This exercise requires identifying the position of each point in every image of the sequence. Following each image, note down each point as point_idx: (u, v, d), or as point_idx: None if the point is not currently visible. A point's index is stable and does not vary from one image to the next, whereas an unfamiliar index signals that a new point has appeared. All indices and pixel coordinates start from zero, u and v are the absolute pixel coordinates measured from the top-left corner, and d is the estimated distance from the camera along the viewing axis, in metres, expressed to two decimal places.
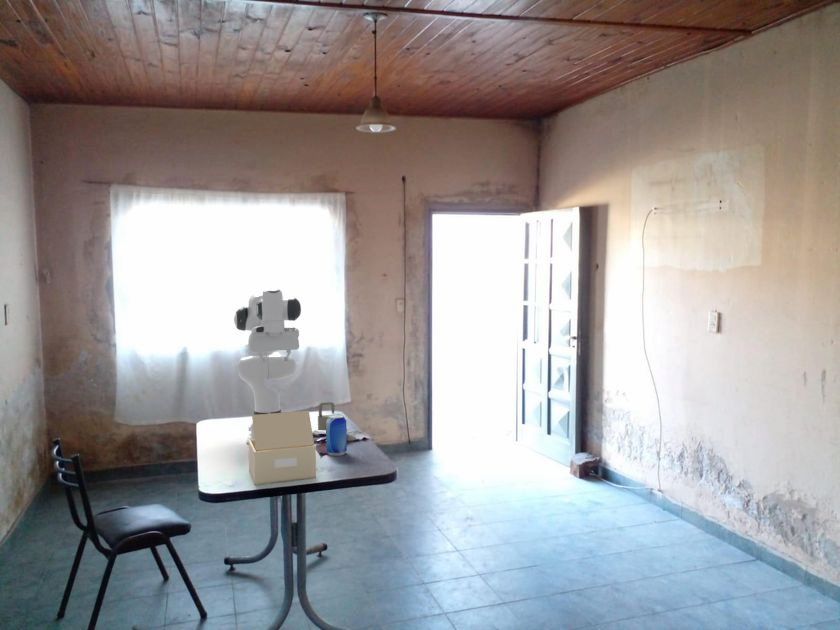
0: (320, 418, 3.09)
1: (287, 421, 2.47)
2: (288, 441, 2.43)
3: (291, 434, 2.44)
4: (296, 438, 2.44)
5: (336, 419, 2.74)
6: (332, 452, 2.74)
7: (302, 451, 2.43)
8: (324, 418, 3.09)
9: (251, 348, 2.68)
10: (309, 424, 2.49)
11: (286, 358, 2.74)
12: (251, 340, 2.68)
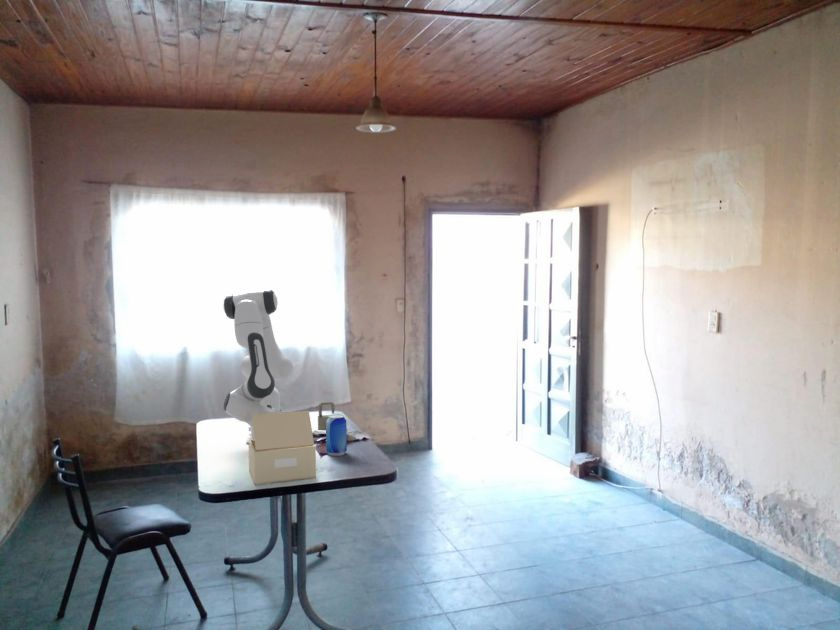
0: (320, 418, 3.09)
1: (287, 421, 2.47)
2: (288, 441, 2.43)
3: (291, 434, 2.44)
4: (296, 438, 2.44)
5: (336, 419, 2.74)
6: (332, 452, 2.74)
7: (302, 451, 2.43)
8: (324, 418, 3.09)
9: None
10: (309, 424, 2.49)
11: None
12: None
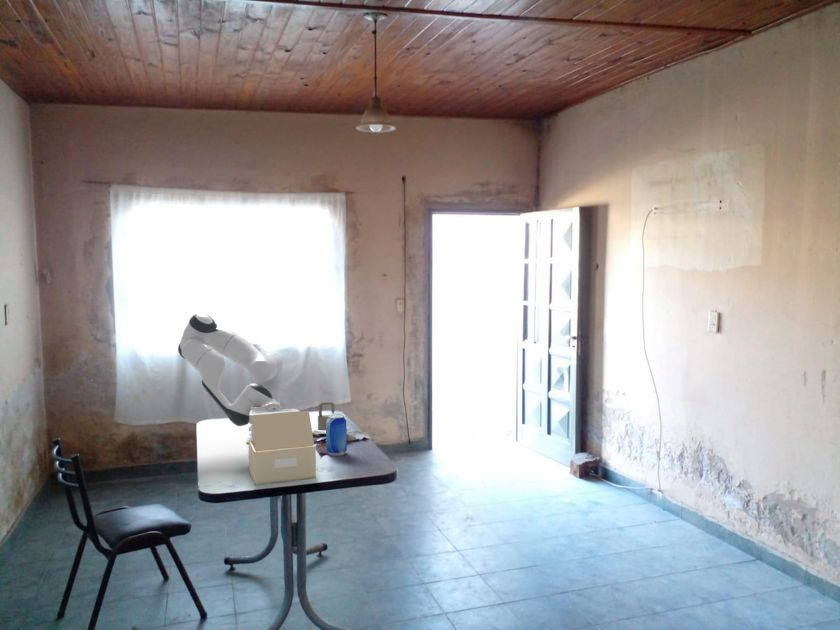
0: (320, 418, 3.09)
1: (287, 421, 2.47)
2: (288, 441, 2.43)
3: (291, 434, 2.44)
4: (296, 438, 2.44)
5: (336, 419, 2.74)
6: (332, 452, 2.74)
7: (302, 451, 2.43)
8: (324, 418, 3.09)
9: (251, 414, 2.58)
10: (309, 424, 2.49)
11: None
12: (250, 411, 2.61)
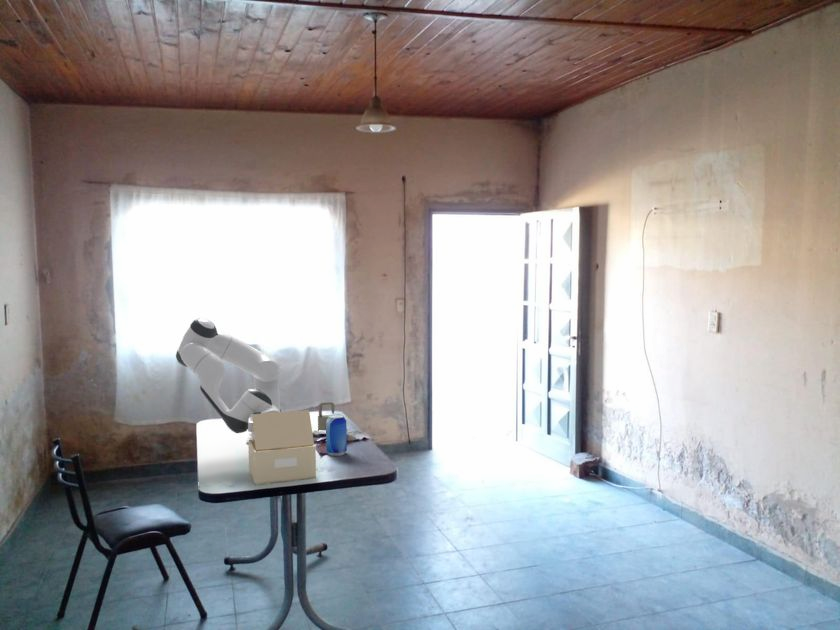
0: (320, 418, 3.09)
1: (287, 420, 2.47)
2: (288, 441, 2.42)
3: (291, 434, 2.44)
4: (296, 438, 2.44)
5: (336, 419, 2.74)
6: (332, 452, 2.74)
7: (302, 451, 2.43)
8: (324, 418, 3.09)
9: (250, 421, 2.47)
10: (309, 424, 2.49)
11: None
12: (249, 418, 2.50)
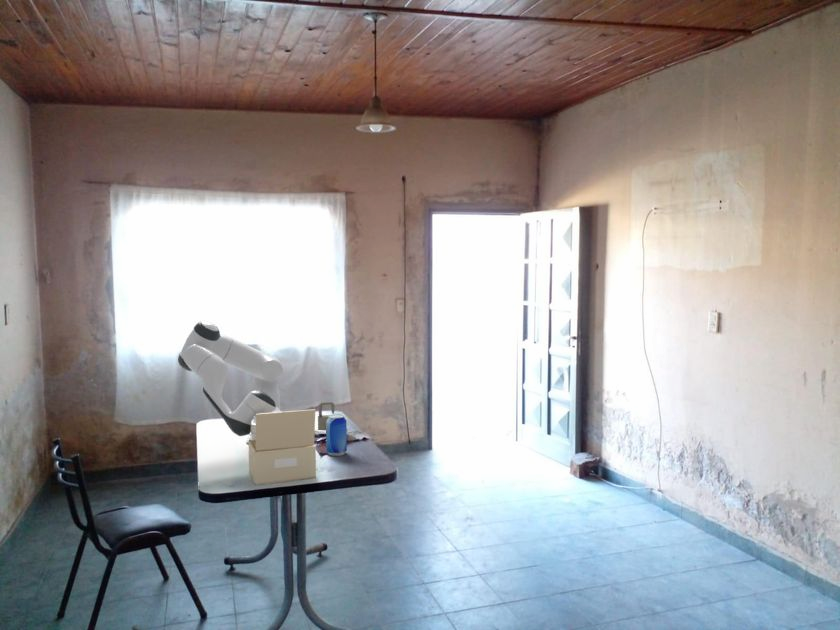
0: (320, 418, 3.09)
1: (291, 421, 2.39)
2: (288, 442, 2.41)
3: (293, 435, 2.41)
4: (297, 439, 2.42)
5: (336, 419, 2.74)
6: (332, 452, 2.74)
7: (302, 451, 2.43)
8: (324, 418, 3.09)
9: (253, 423, 2.42)
10: (313, 424, 2.42)
11: None
12: (252, 421, 2.45)
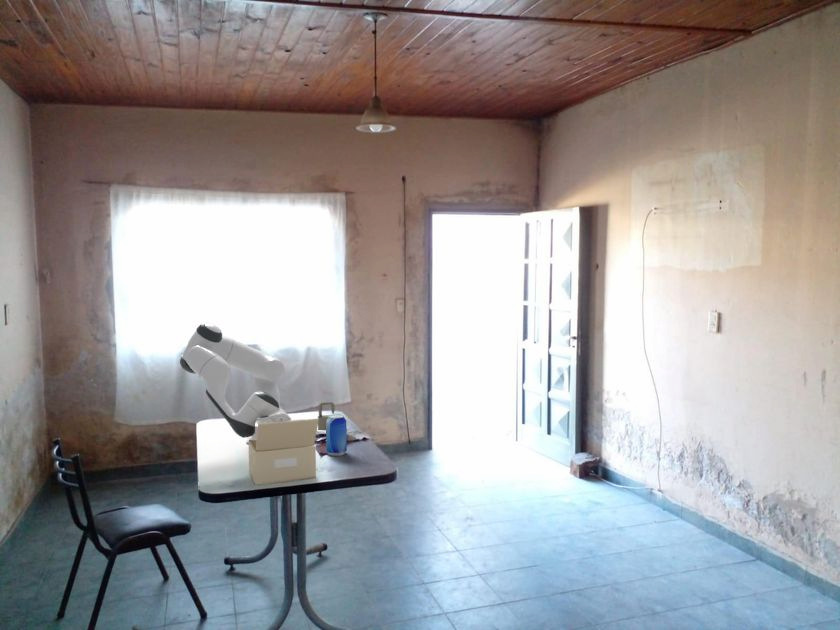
0: (320, 418, 3.09)
1: (293, 429, 2.35)
2: (289, 443, 2.40)
3: (294, 439, 2.39)
4: (298, 441, 2.41)
5: (336, 419, 2.74)
6: (332, 452, 2.74)
7: (302, 451, 2.43)
8: (324, 418, 3.09)
9: (257, 425, 2.39)
10: (315, 430, 2.40)
11: None
12: (256, 422, 2.42)
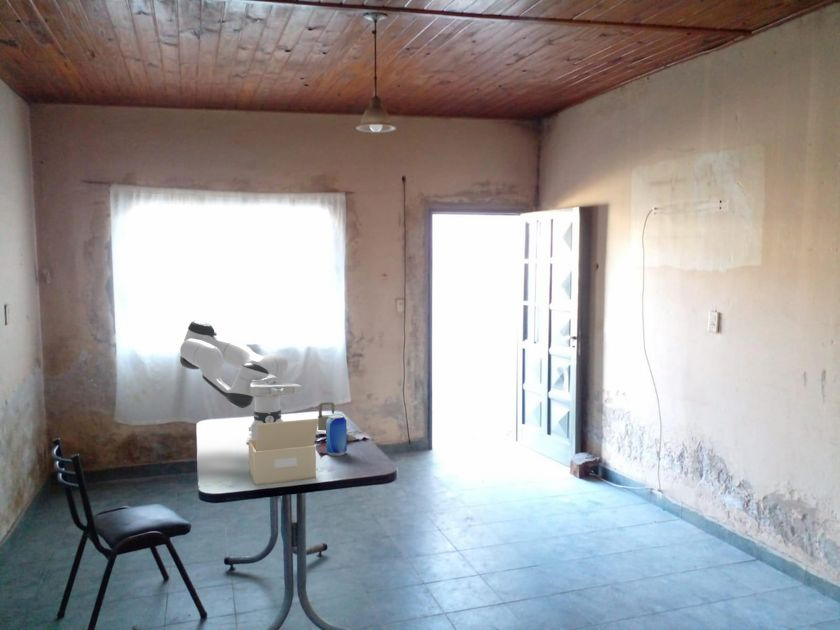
0: (320, 418, 3.09)
1: (293, 429, 2.35)
2: (289, 443, 2.40)
3: (294, 439, 2.39)
4: (298, 441, 2.41)
5: (336, 419, 2.74)
6: (332, 452, 2.74)
7: (302, 451, 2.43)
8: (324, 418, 3.09)
9: (252, 385, 2.57)
10: (315, 430, 2.40)
11: (280, 389, 2.56)
12: (251, 383, 2.60)
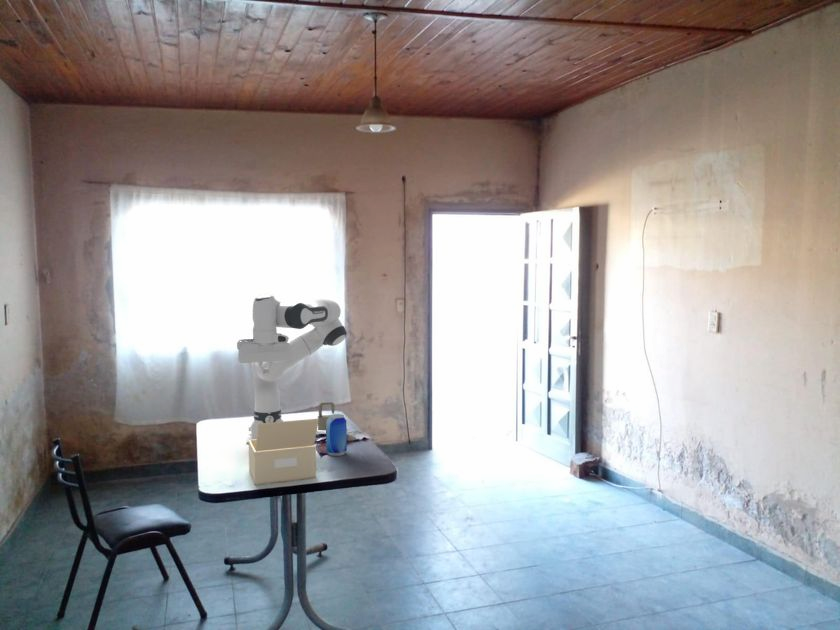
0: (320, 418, 3.09)
1: (293, 429, 2.35)
2: (289, 443, 2.40)
3: (294, 439, 2.39)
4: (298, 441, 2.41)
5: (336, 419, 2.74)
6: (332, 452, 2.74)
7: (302, 451, 2.43)
8: (324, 418, 3.09)
9: None
10: (315, 430, 2.40)
11: None
12: None
